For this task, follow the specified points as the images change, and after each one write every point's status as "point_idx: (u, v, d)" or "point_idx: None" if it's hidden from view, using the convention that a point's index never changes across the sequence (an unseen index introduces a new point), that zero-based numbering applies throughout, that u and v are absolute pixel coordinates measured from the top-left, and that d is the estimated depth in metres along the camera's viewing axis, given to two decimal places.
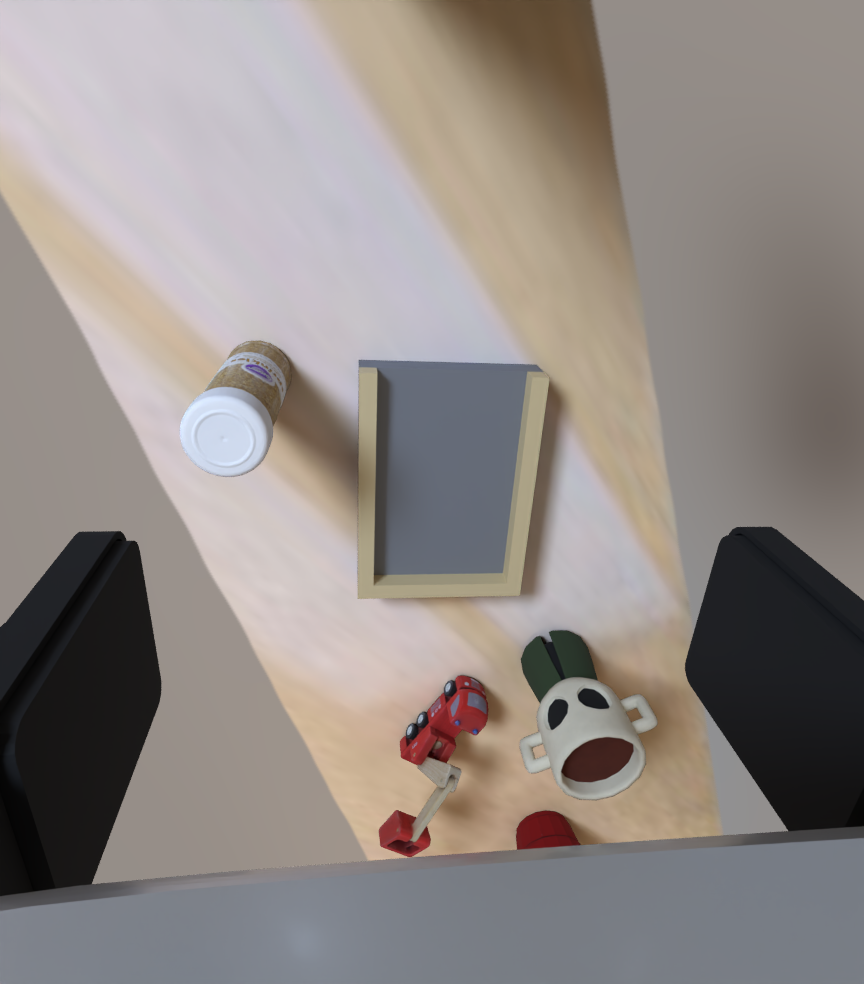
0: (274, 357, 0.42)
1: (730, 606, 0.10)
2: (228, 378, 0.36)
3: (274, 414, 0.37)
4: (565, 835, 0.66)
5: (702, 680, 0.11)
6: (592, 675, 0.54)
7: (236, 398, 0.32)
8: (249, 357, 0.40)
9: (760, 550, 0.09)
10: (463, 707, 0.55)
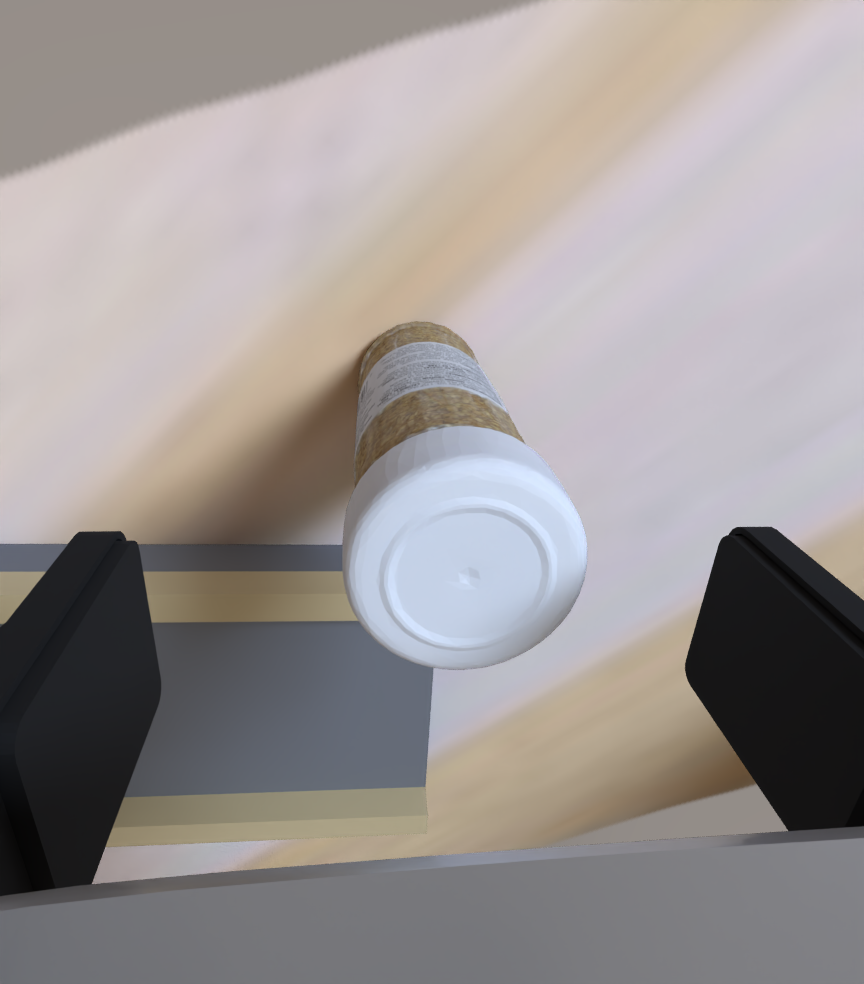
0: None
1: (730, 606, 0.10)
2: None
3: None
4: None
5: (702, 680, 0.11)
6: None
7: (573, 603, 0.12)
8: None
9: (760, 550, 0.09)
10: None
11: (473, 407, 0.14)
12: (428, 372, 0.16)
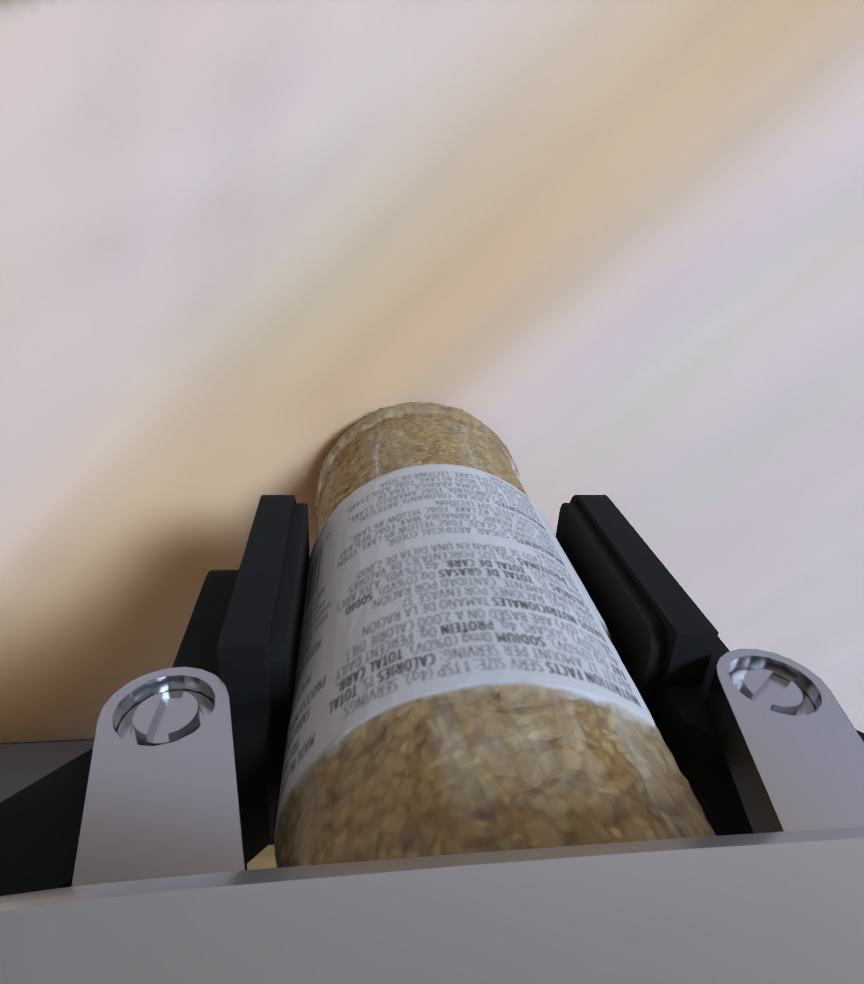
0: None
1: None
2: None
3: None
4: None
5: None
6: None
7: None
8: None
9: (585, 515, 0.10)
10: None
11: (603, 808, 0.05)
12: (452, 598, 0.07)
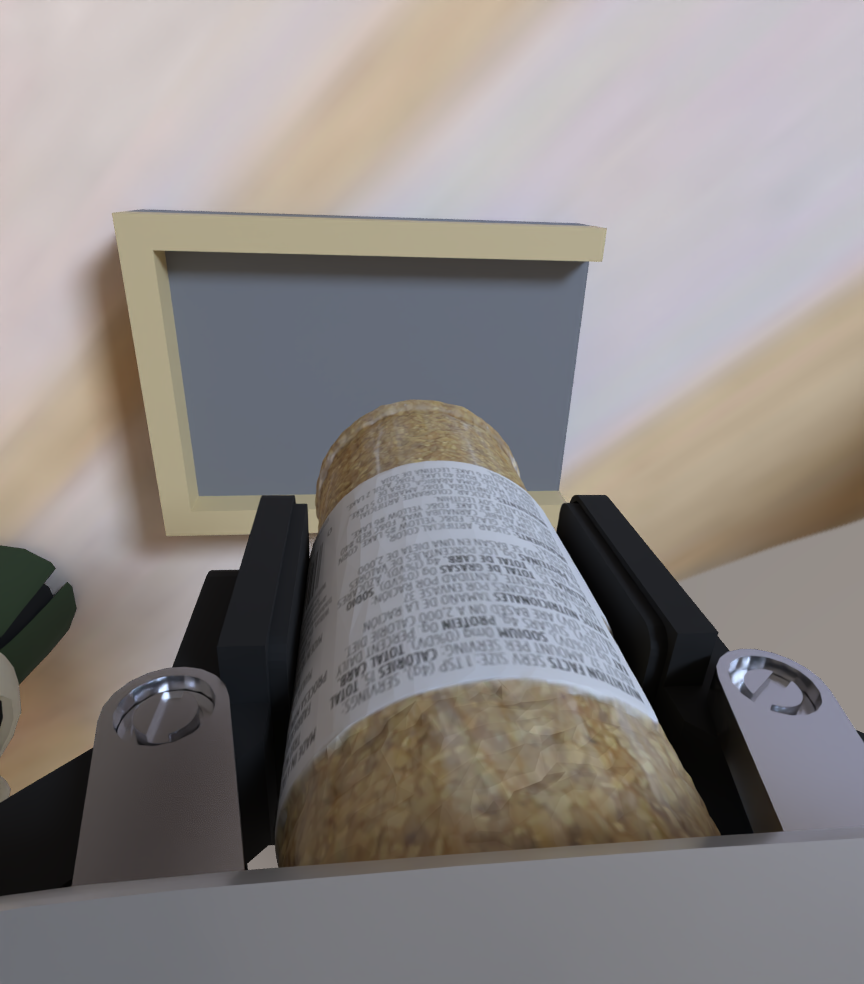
0: None
1: None
2: None
3: None
4: None
5: None
6: None
7: None
8: None
9: (585, 515, 0.10)
10: None
11: (606, 803, 0.05)
12: (453, 593, 0.07)
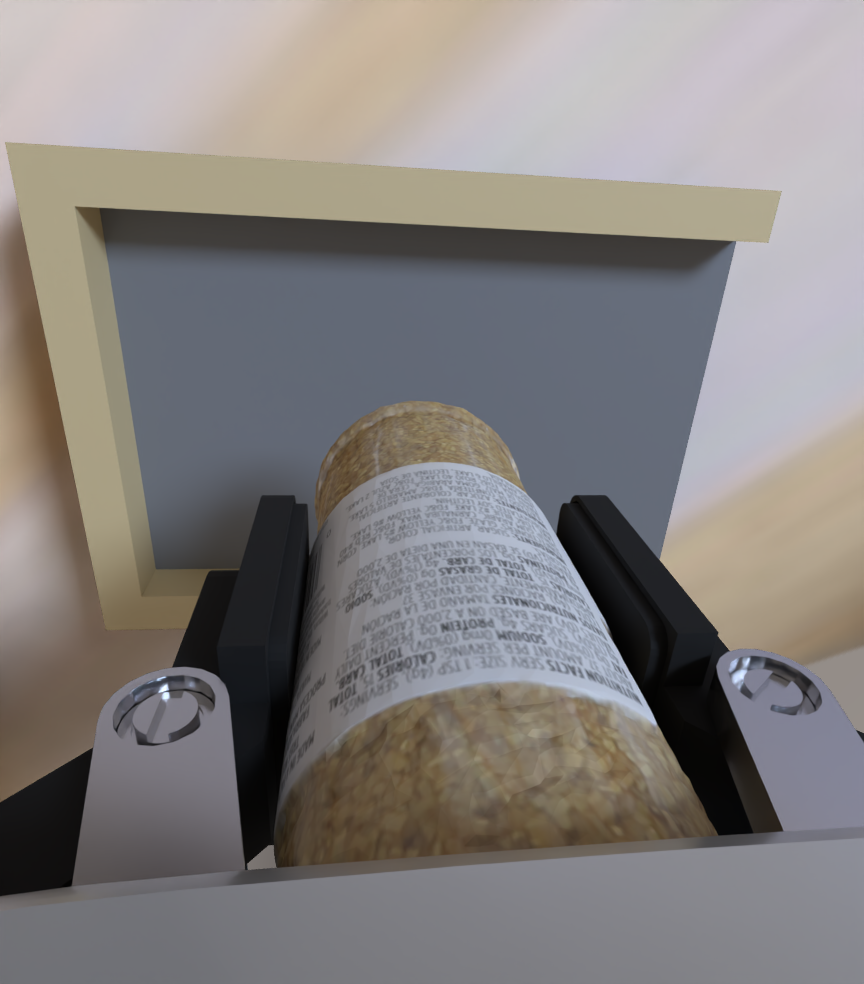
0: None
1: None
2: None
3: None
4: None
5: None
6: None
7: None
8: None
9: (585, 515, 0.10)
10: None
11: (605, 807, 0.05)
12: (452, 595, 0.07)
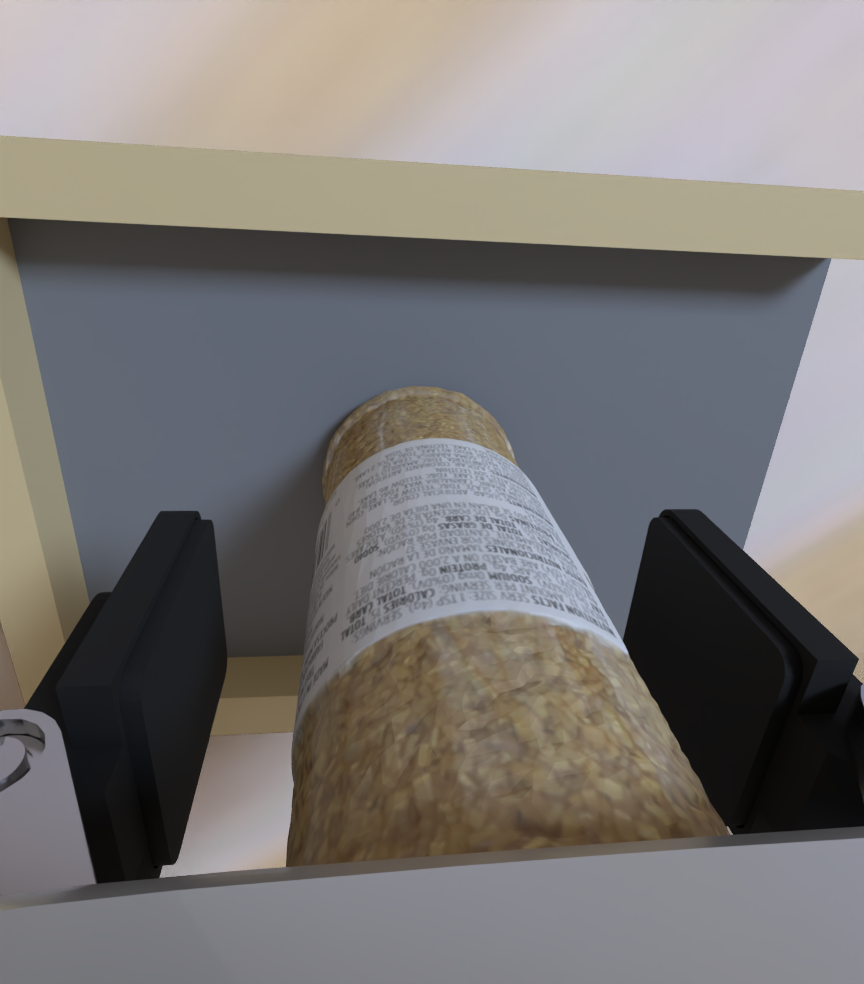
0: None
1: (657, 584, 0.10)
2: None
3: None
4: None
5: (635, 657, 0.11)
6: None
7: None
8: None
9: (682, 530, 0.10)
10: None
11: (577, 703, 0.06)
12: (450, 545, 0.08)
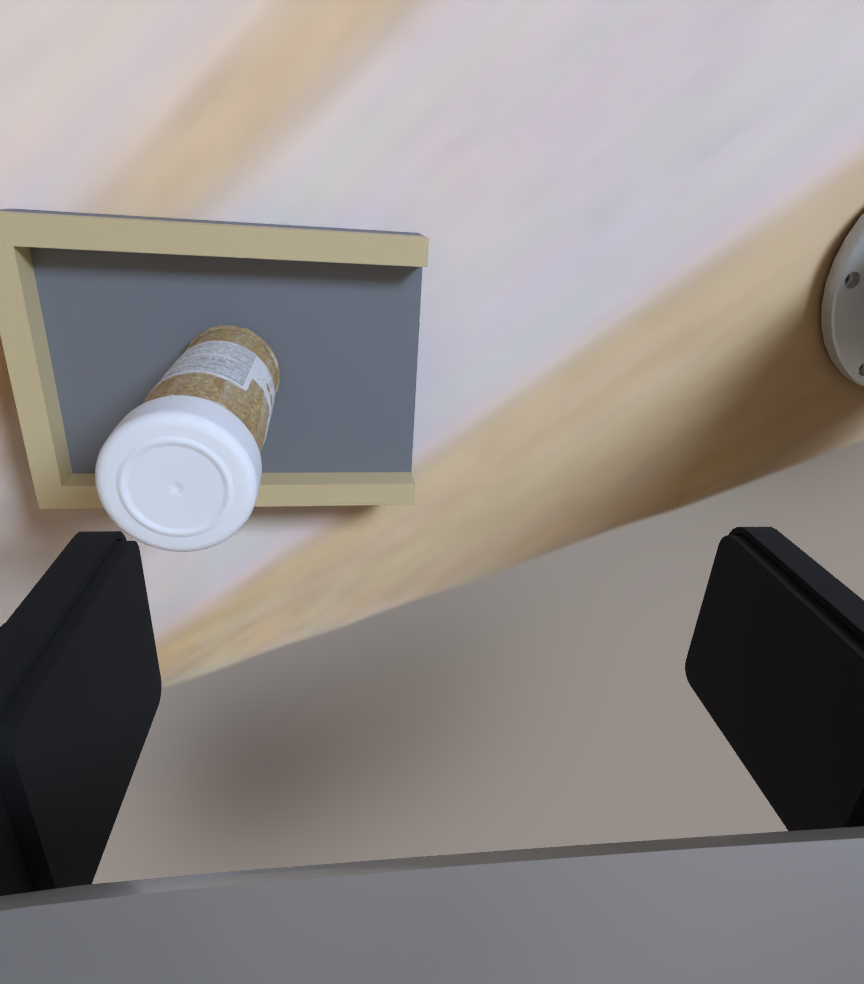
0: None
1: (730, 606, 0.10)
2: (260, 431, 0.22)
3: None
4: None
5: (702, 680, 0.11)
6: None
7: (253, 506, 0.19)
8: (272, 406, 0.27)
9: (760, 550, 0.09)
10: None
11: (207, 385, 0.21)
12: (195, 362, 0.23)
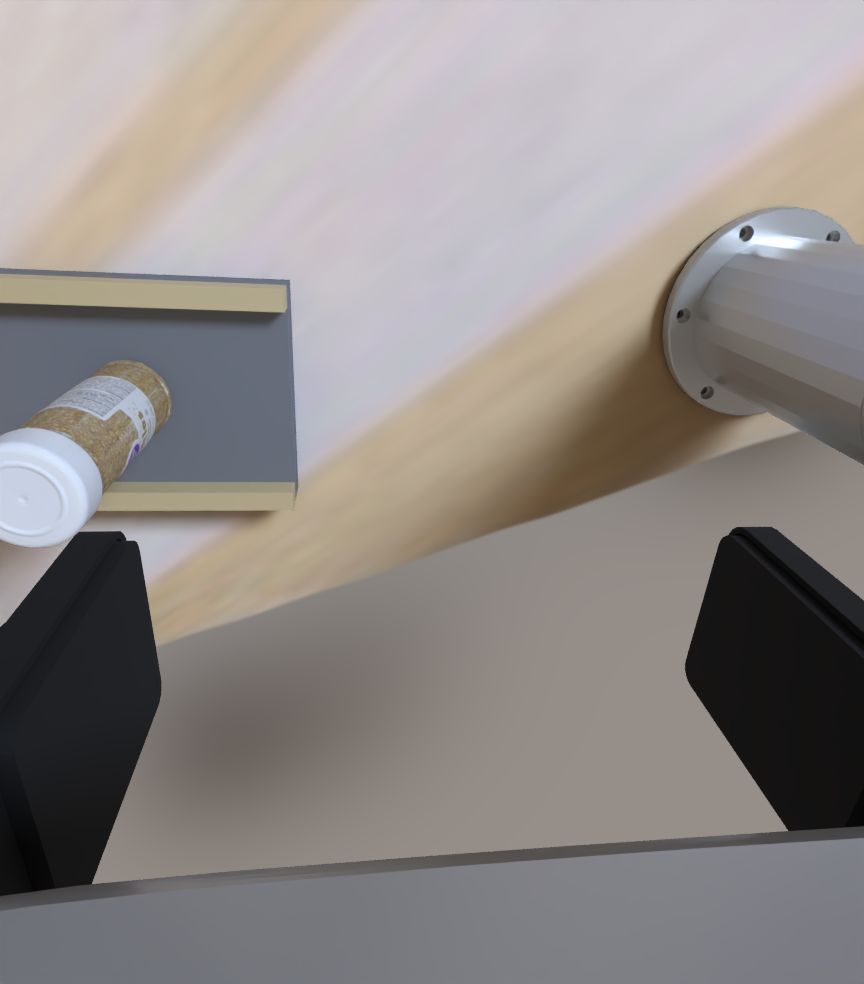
0: (153, 434, 0.35)
1: (730, 606, 0.10)
2: (114, 453, 0.28)
3: None
4: None
5: (702, 680, 0.11)
6: None
7: (87, 514, 0.25)
8: (148, 429, 0.32)
9: (760, 550, 0.09)
10: None
11: (65, 418, 0.27)
12: (69, 397, 0.29)
